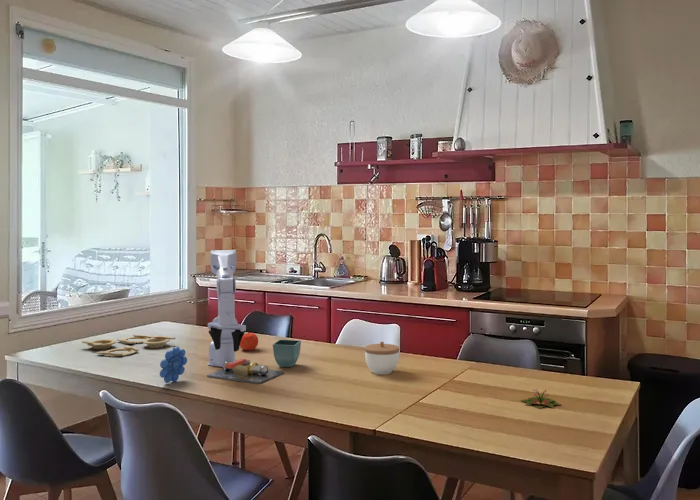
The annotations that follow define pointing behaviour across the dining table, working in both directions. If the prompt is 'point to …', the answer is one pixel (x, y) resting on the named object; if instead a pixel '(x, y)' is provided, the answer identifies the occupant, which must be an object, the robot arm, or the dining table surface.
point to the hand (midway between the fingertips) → (227, 350)
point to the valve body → (246, 373)
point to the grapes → (173, 364)
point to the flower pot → (286, 352)
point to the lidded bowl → (382, 357)
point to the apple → (249, 341)
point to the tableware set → (107, 343)
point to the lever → (237, 363)
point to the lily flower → (540, 400)
